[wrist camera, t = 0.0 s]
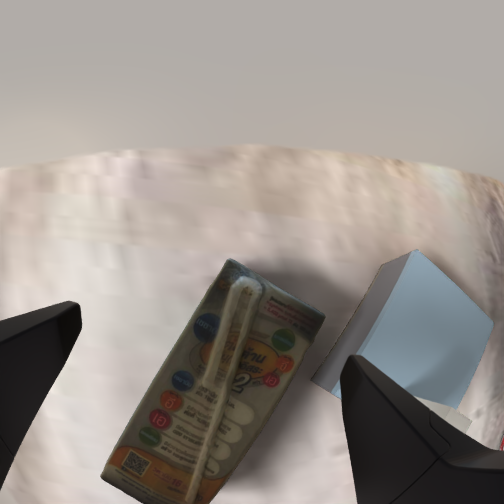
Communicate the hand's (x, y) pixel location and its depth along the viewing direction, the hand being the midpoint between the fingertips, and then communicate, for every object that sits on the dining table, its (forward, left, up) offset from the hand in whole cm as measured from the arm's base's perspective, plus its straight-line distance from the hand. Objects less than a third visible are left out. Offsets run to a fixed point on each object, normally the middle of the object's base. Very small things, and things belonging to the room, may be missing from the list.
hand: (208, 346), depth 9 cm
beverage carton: (-4, +3, -15) cm, 16 cm away
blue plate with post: (-7, -14, -10) cm, 18 cm away
